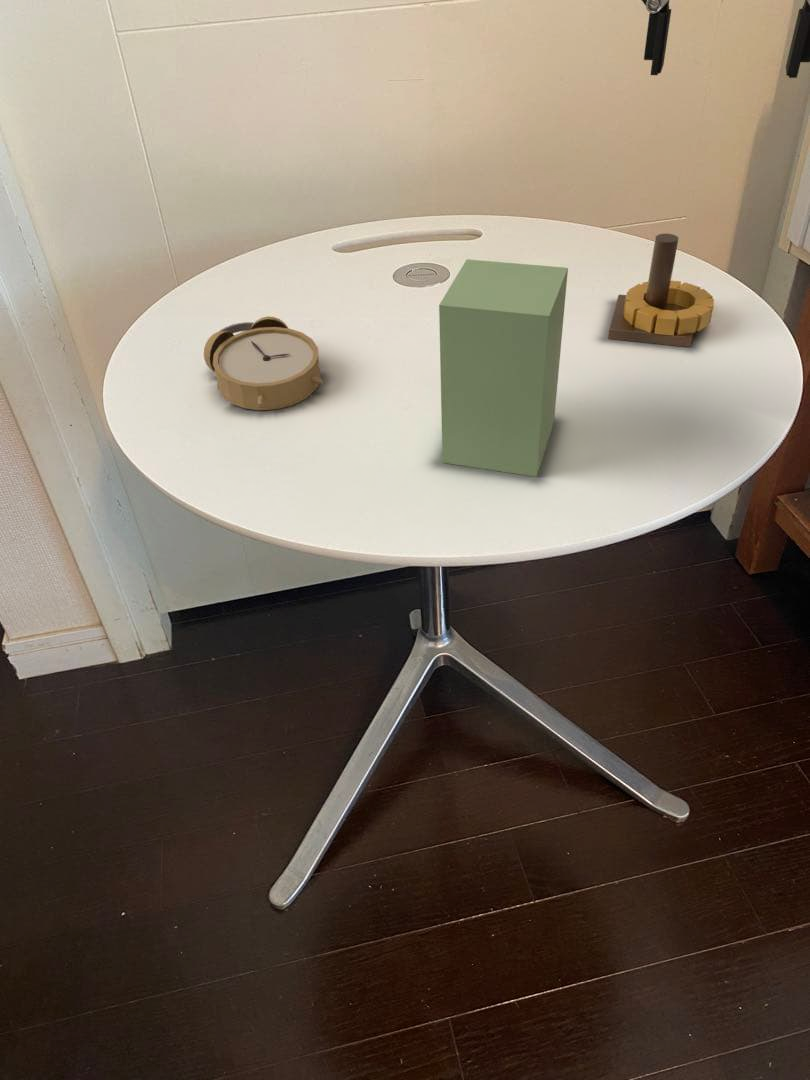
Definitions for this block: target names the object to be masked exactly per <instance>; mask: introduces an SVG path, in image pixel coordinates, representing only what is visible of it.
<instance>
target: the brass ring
mask: <svg viewBox="0 0 810 1080" xmlns="http://www.w3.org/2000/svg"><path fill="white" fill-rule="evenodd" d="M647 286H648V281H645V282H644V281H643V282H642V283H638V284H636V285H634V286H633V287H631V288H629V289H628V291H626V294H625V295H626V299H625V305H624V312H623V315H624V318H625V319H626V320H627V321H628V322H629V323H630V324H631V325H635V327H636V328H638V329H641V330H644V331H646V332H649V333H651V332H653V331H654V330H655V332H654V333H655V334H662V335H674V332H675V333H676V334H677V335H684V334H690V333H693V334H695V333H696V332H701V330H703V329H705V328H706V327H707V326H709V324H710V323H711V322H712V321H711V320H712V315H713V313H714V306H715V299H714V297H713V295H712V294H711V293H710V292H709V291H707V290H706V289H705V288H701V286H698V285H695V284H693V283H689V282H685V281H684V282H683V283H682V281H681V280H671V283H670V288H669V294H668V299H667V304H675V305H678V306H681V307H684V308H686V309H684V310H678V311H670V310H661V309H658V308H655V307H652V306H650V305H648V304H647V303H646V302H645V298H646V292H647Z"/></svg>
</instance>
